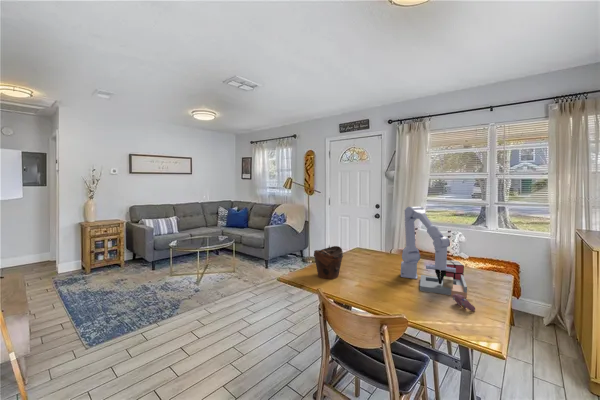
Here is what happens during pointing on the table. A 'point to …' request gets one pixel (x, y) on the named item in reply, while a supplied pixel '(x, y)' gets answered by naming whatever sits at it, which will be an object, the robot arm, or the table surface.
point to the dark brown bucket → (328, 262)
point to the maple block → (448, 282)
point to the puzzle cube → (458, 267)
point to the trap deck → (433, 286)
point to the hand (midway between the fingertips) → (440, 283)
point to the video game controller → (463, 302)
